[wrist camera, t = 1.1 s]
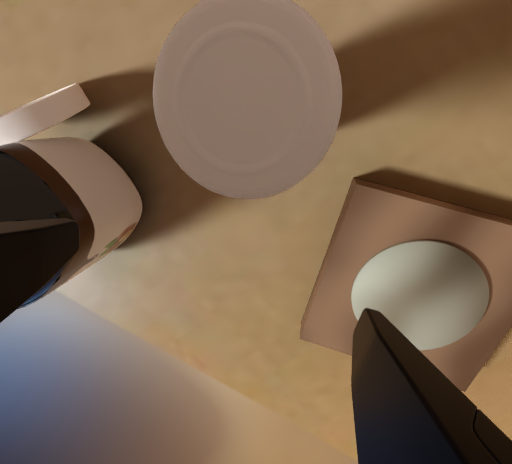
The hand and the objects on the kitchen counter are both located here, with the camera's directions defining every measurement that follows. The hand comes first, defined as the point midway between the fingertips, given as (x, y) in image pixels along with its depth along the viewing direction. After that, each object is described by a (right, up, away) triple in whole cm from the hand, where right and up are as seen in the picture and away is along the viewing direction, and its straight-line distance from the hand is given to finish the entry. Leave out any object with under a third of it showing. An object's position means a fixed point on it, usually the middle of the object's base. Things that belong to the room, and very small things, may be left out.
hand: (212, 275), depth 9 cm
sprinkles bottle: (+4, +9, +10) cm, 14 cm away
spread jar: (-12, +6, +15) cm, 20 cm away
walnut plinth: (+12, -2, +12) cm, 17 cm away
